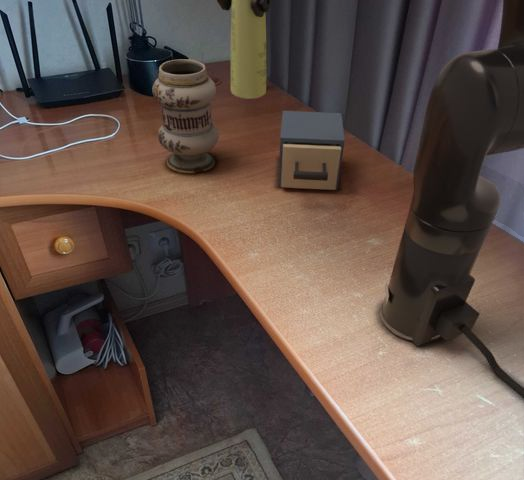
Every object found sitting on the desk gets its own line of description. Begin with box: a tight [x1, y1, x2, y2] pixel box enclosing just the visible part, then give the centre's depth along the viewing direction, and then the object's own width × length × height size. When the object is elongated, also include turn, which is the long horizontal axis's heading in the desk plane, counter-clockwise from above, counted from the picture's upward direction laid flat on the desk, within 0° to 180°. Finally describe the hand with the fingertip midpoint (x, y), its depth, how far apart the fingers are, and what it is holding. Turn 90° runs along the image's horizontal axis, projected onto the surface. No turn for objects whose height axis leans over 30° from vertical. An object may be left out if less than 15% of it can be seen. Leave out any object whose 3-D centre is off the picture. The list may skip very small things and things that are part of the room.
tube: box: [230, 0, 267, 100], centre depth 57 cm, size 6×5×20 cm
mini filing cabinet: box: [277, 110, 346, 191], centre depth 92 cm, size 13×12×10 cm
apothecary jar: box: [151, 58, 220, 175], centre depth 91 cm, size 12×12×18 cm
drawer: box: [280, 142, 341, 191], centre depth 89 cm, size 17×10×8 cm, turn 176°
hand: (239, 8), depth 56 cm, fingers closed on tube, 4 cm apart
